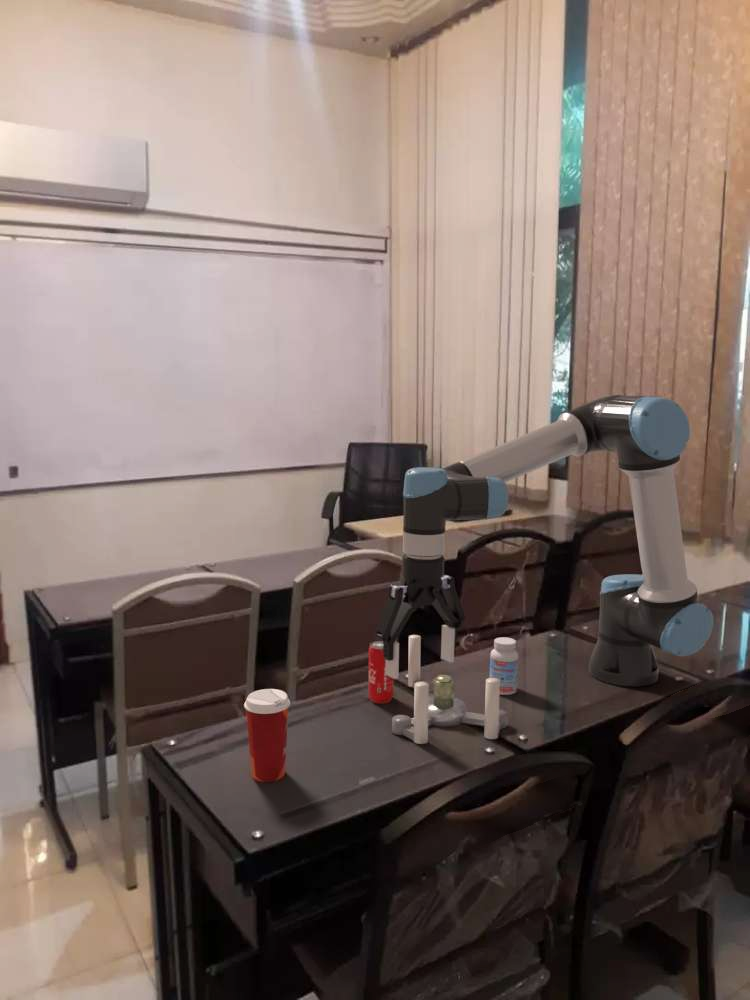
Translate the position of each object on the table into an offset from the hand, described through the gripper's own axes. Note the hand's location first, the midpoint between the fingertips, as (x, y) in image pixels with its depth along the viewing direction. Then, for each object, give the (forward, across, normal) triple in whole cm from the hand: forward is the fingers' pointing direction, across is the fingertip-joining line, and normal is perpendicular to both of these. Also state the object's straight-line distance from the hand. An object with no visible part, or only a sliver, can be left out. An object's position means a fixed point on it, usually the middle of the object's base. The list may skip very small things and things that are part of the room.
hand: (420, 668), depth 143 cm
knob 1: (+14, 0, -3) cm, 15 cm away
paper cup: (+15, +28, -7) cm, 33 cm away
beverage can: (+15, -7, -20) cm, 25 cm away
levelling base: (+14, -12, -7) cm, 20 cm away
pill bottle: (+14, -31, -7) cm, 35 cm away
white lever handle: (+14, -17, -17) cm, 28 cm away
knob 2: (+14, -15, +5) cm, 21 cm away
